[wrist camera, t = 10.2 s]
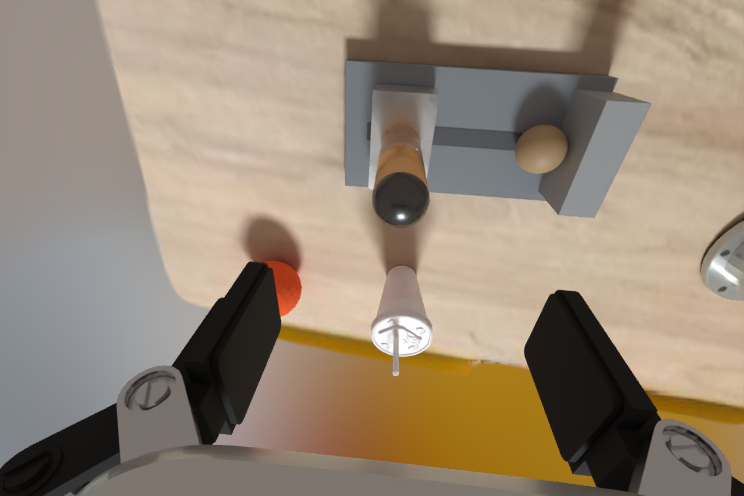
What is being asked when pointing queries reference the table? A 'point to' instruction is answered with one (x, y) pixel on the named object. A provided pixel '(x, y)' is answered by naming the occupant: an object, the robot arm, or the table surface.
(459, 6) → the table surface
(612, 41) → the table surface
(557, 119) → the frame
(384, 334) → the smoothie
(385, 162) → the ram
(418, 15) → the table surface
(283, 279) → the clementine
